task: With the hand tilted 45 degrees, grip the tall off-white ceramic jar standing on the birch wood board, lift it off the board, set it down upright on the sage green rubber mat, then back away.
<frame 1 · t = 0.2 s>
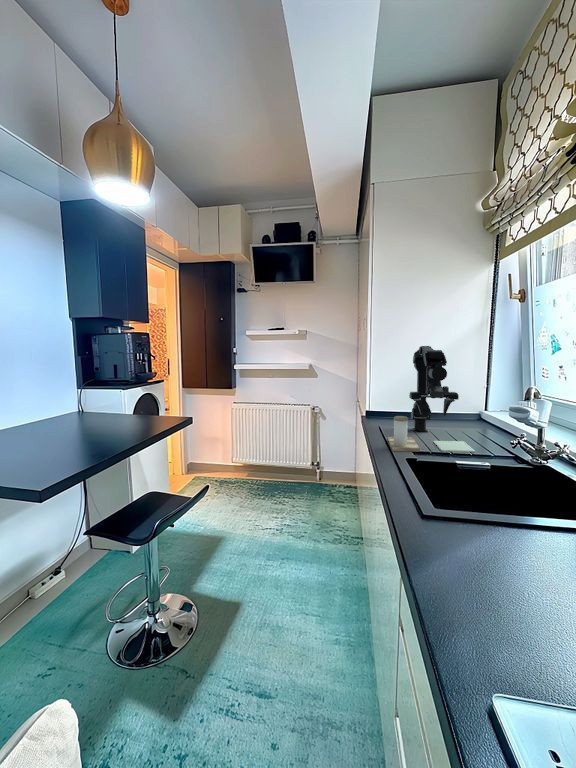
hand: (432, 415, 140), 14 cm above the worktop, tool pointing down, fingers open, 9 cm apart
board: (402, 445, 144), on the worktop
mat: (453, 446, 141), on the worktop
jar: (400, 444, 142), point 1 cm above the worktop, touching board
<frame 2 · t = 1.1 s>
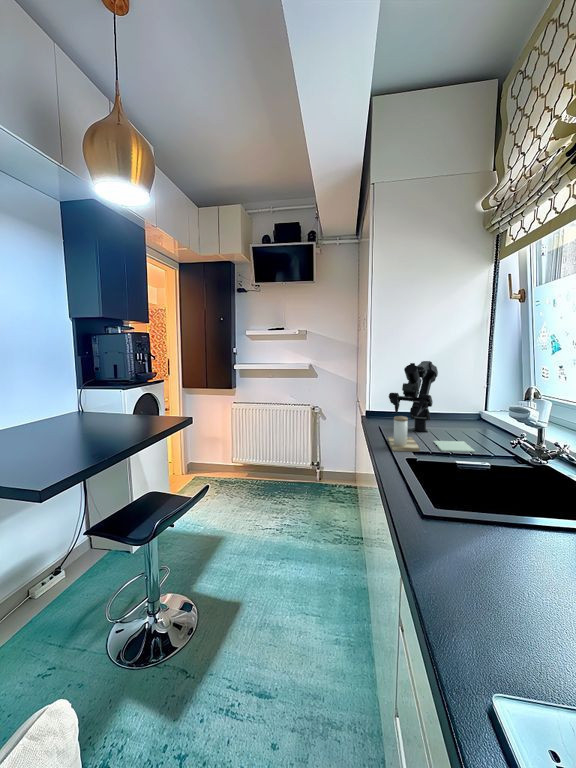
hand: (406, 414, 146), 13 cm above the worktop, tool tilted 45°, fingers open, 9 cm apart
nothing on the worktop moved.
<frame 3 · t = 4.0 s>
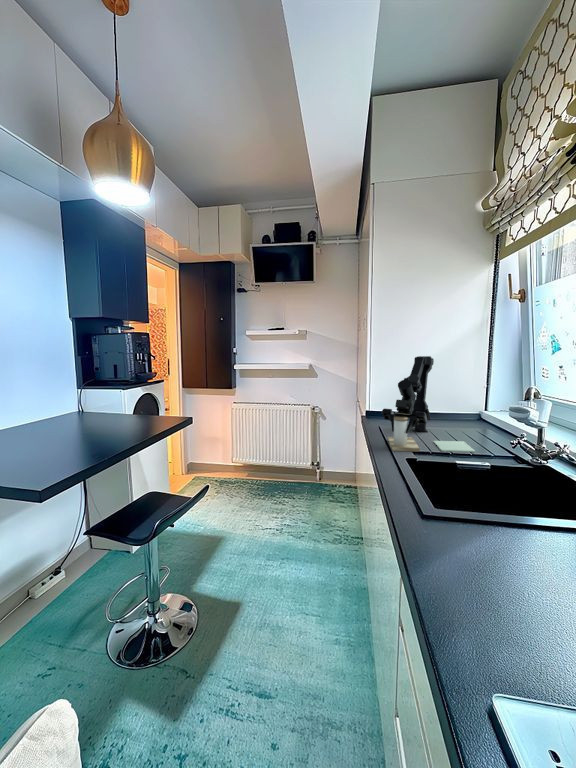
hand: (399, 432, 140), 7 cm above the worktop, tool tilted 45°, fingers closed on jar, 6 cm apart
jar: (400, 444, 142), point 1 cm above the worktop, touching board, gripper
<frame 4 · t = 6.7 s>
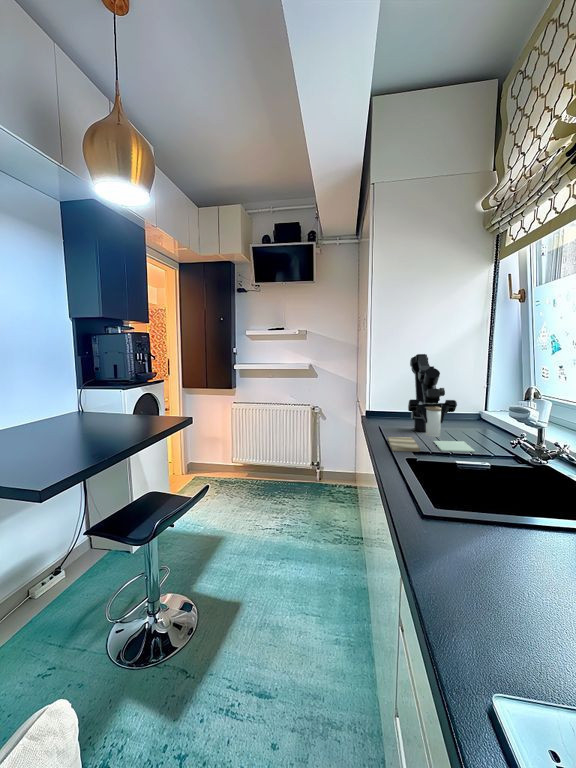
hand: (434, 422, 134), 12 cm above the worktop, tool tilted 45°, fingers closed on jar, 6 cm apart
jar: (433, 435, 136), point 7 cm above the worktop, touching gripper
when the fingers open (7 cm above the worktop, at t = 9.7 s): jar drops 1 cm, resting on mat.
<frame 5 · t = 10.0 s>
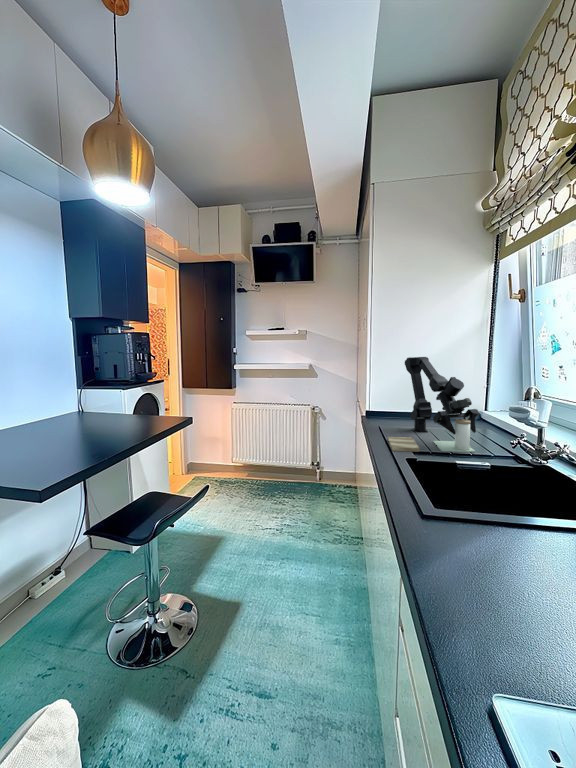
hand: (465, 433, 135), 8 cm above the worktop, tool tilted 45°, fingers open, 9 cm apart
jar: (462, 448, 137), point 1 cm above the worktop, touching mat
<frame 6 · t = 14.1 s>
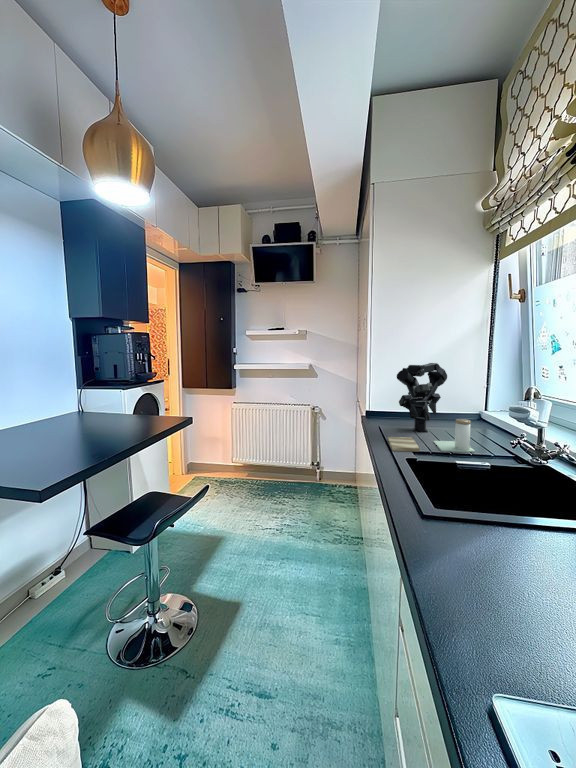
hand: (426, 414, 148), 13 cm above the worktop, tool tilted 45°, fingers open, 9 cm apart
nothing on the worktop moved.
at the end: jar inside the target area on the mat (4.0 cm from its centre), point 0.6 cm above the mat's base; jar tilted 0°; the gripper is holding nothing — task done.
